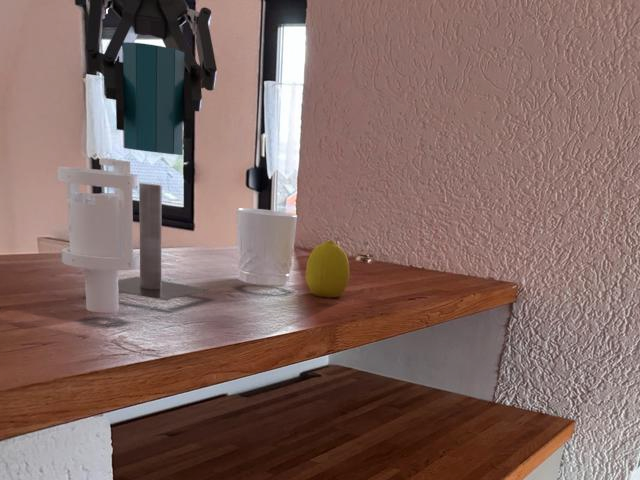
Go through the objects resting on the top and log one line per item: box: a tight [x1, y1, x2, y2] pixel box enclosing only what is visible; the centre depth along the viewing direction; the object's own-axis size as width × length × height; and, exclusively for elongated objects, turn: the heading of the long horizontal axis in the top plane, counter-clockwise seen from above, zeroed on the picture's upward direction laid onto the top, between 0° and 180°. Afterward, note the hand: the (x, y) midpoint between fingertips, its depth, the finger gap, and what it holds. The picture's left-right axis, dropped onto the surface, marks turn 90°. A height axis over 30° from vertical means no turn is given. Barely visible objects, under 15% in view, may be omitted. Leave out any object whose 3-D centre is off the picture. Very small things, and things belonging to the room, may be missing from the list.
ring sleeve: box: [122, 42, 184, 156], centre depth 79 cm, size 6×6×10 cm
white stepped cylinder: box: [57, 157, 140, 314], centre depth 70 cm, size 7×7×15 cm
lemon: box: [305, 239, 350, 299], centre depth 93 cm, size 6×6×8 cm
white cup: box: [236, 207, 298, 287], centre depth 98 cm, size 8×8×10 cm
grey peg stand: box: [118, 182, 209, 301], centre depth 83 cm, size 10×10×12 cm
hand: (155, 124), depth 77 cm, fingers closed on ring sleeve, 6 cm apart
